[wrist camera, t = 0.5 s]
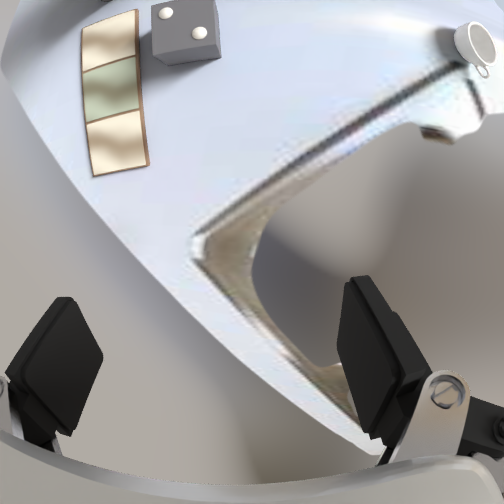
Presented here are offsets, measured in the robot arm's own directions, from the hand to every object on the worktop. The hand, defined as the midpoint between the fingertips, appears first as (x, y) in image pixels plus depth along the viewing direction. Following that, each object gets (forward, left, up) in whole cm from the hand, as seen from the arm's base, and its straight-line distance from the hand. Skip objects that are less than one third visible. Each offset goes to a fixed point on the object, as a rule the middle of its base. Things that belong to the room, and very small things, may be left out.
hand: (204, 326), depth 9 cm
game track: (-14, -16, -31) cm, 37 cm away
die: (-19, -4, -31) cm, 36 cm away
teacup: (-22, +40, -31) cm, 55 cm away
